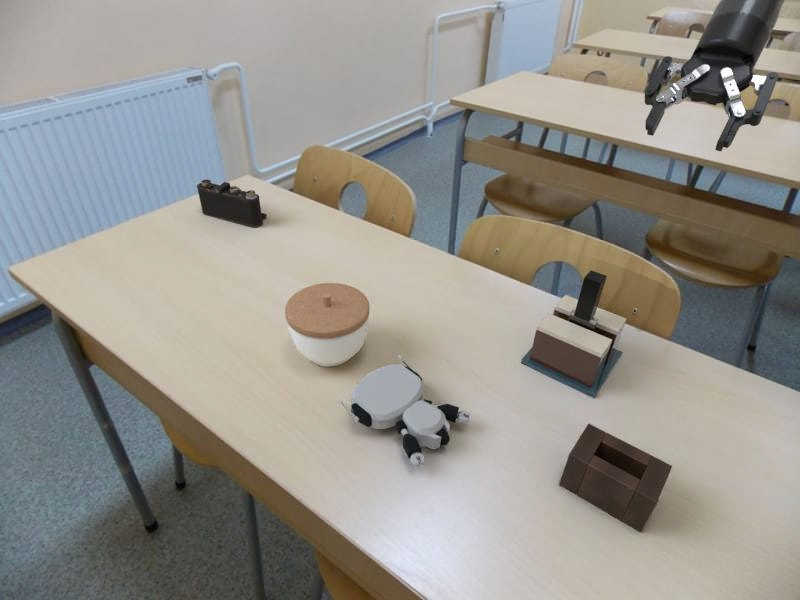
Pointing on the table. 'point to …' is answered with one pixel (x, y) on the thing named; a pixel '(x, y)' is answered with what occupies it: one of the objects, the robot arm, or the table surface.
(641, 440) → the table surface
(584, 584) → the table surface
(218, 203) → the camera
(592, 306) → the dark grey tall bar
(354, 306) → the lidded bowl
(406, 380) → the robot toy
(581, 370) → the slotted fixture
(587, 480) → the brown rectangular frame
